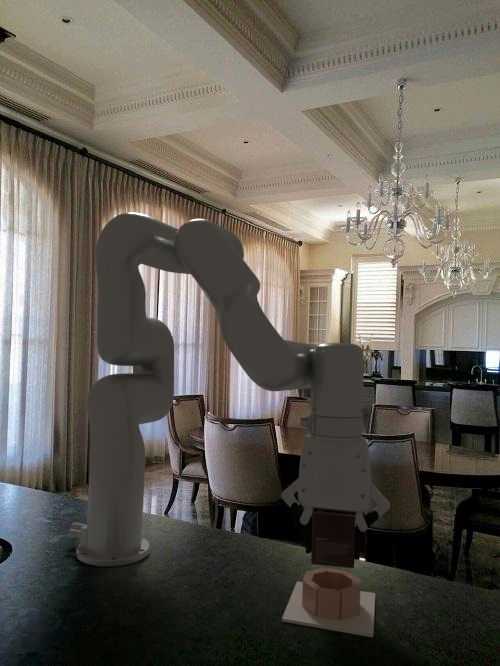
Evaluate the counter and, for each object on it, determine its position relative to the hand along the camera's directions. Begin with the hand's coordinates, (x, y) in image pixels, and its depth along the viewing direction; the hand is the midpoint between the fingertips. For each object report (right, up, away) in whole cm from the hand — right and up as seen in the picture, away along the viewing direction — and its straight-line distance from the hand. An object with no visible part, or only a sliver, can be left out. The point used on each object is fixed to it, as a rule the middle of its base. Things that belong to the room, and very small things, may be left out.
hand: (333, 552), depth 73 cm
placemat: (0, -8, 0) cm, 8 cm away
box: (0, -1, 0) cm, 1 cm away
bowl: (0, -8, 0) cm, 8 cm away
